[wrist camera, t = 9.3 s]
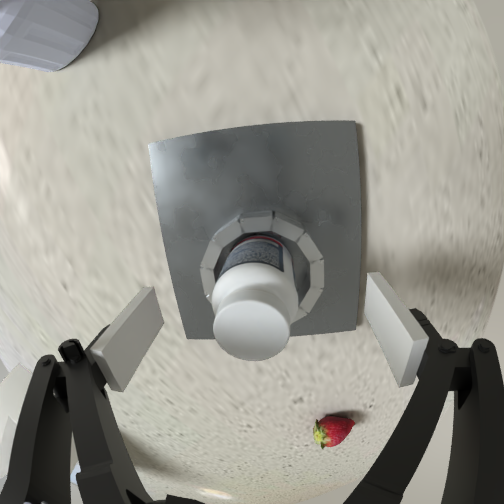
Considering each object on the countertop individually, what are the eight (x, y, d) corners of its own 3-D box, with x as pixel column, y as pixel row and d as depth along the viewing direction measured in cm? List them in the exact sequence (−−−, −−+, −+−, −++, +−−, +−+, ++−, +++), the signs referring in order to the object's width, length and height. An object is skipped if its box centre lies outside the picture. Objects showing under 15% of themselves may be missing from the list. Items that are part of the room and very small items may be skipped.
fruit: (345, 427, 30) (350, 455, 25) (305, 424, 30) (306, 455, 25) (359, 409, 28) (366, 439, 23) (316, 407, 28) (320, 439, 23)
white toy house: (87, 442, 41) (49, 517, 17) (37, 409, 40) (-7, 473, 16) (78, 404, 34) (19, 502, 11) (19, 362, 34) (-45, 438, 10)
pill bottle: (214, 257, 22) (179, 318, 13) (267, 220, 20) (261, 266, 12) (253, 305, 23) (241, 380, 15) (305, 273, 22) (320, 343, 13)
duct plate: (152, 144, 20) (135, 142, 17) (352, 122, 18) (364, 116, 15) (189, 334, 26) (180, 353, 23) (353, 325, 24) (361, 344, 21)
